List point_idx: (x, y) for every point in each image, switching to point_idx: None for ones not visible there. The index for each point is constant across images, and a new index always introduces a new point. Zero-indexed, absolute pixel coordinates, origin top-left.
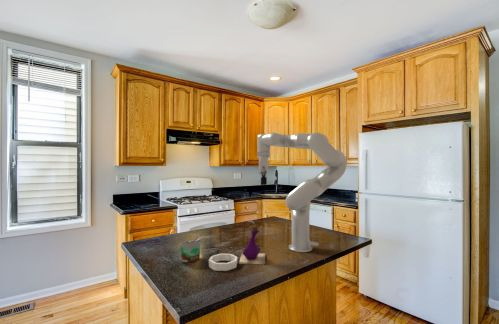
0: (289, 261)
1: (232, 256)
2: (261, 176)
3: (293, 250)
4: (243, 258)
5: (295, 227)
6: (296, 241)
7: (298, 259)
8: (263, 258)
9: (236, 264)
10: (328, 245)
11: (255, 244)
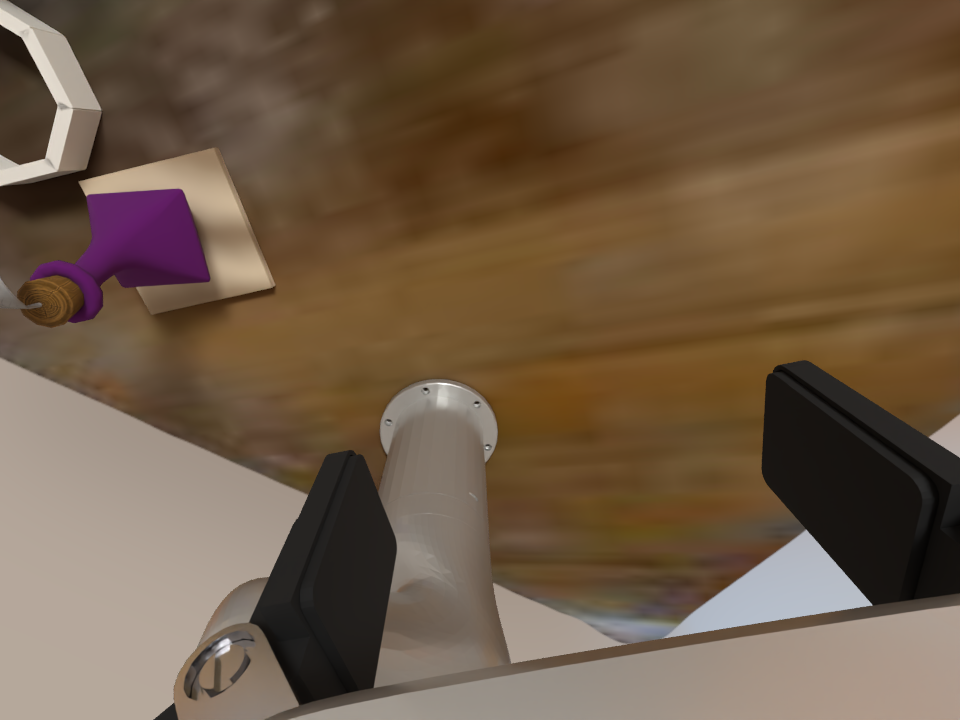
0: (250, 404)
1: (54, 133)
2: (180, 694)
3: (386, 407)
4: (138, 189)
5: (379, 490)
6: (390, 444)
7: (292, 434)
8: (198, 295)
9: (36, 180)
10: (526, 528)
11: (135, 272)
